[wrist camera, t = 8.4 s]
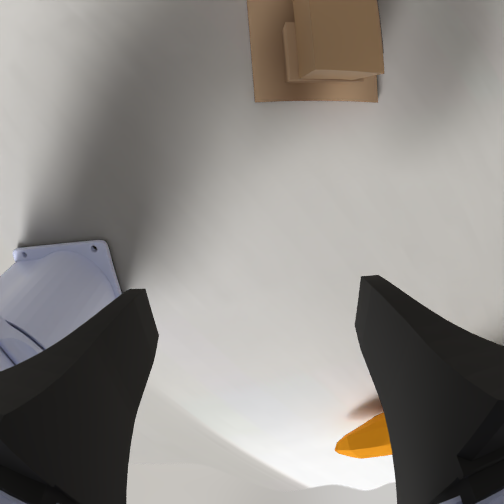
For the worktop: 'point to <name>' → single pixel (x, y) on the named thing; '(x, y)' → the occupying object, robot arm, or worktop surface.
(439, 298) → the worktop surface
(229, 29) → the worktop surface
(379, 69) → the long wooden plank
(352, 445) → the corn
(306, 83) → the display stand
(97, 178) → the worktop surface
